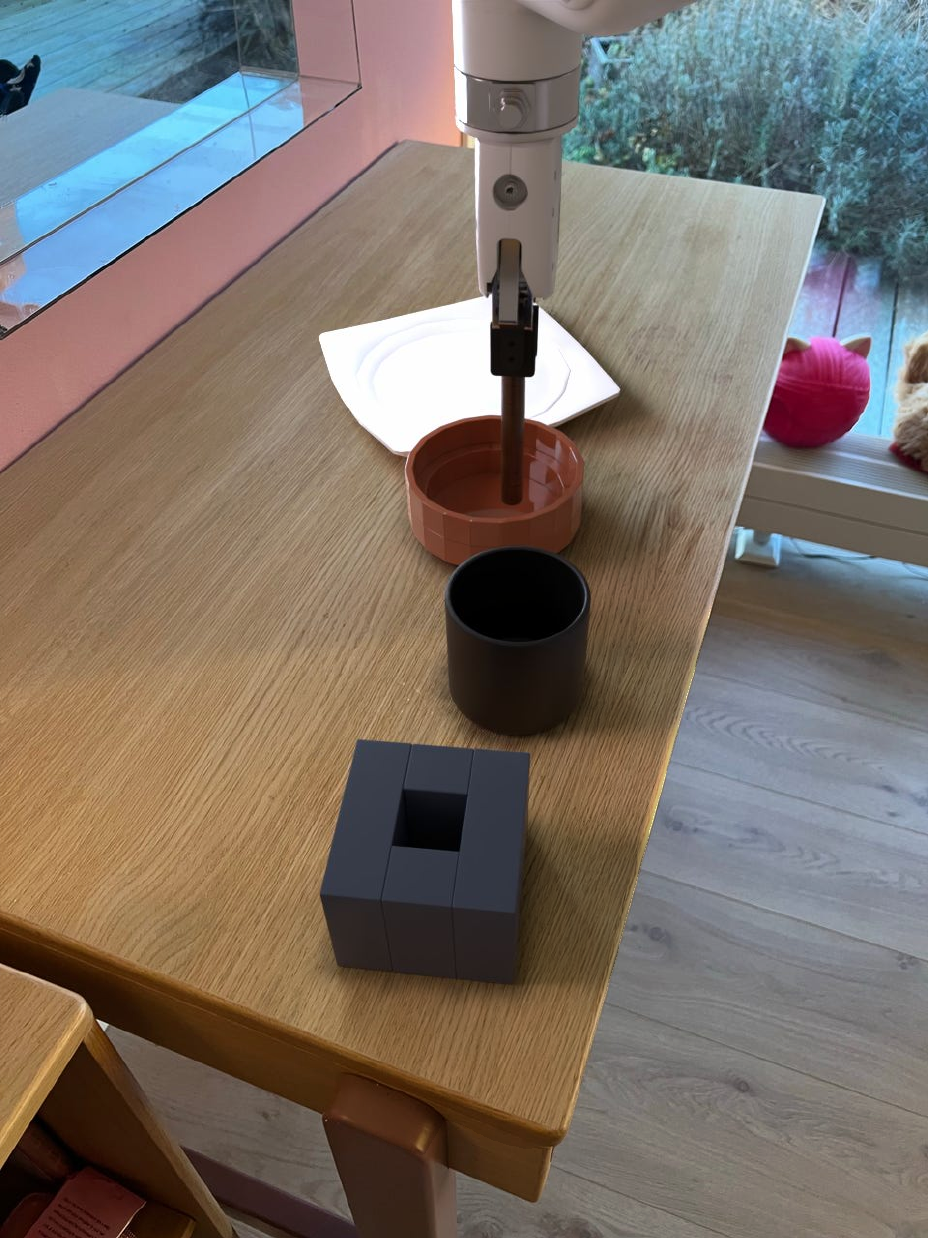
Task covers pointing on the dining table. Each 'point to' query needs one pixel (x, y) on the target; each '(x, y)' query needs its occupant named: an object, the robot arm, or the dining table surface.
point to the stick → (512, 437)
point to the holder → (429, 861)
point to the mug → (517, 638)
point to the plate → (453, 373)
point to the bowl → (491, 490)
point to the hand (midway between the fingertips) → (514, 363)
